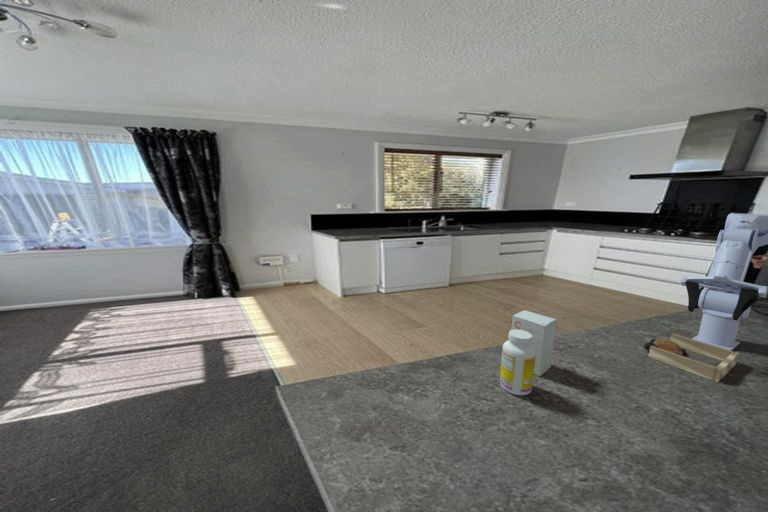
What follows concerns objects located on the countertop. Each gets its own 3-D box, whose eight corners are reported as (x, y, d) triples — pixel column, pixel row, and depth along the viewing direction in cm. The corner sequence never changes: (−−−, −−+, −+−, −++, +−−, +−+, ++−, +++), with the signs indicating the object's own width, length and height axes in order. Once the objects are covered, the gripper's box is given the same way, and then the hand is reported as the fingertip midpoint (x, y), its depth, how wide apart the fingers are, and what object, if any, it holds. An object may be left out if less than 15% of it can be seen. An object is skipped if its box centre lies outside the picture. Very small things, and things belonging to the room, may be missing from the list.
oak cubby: (670, 343, 89) (672, 333, 89) (736, 363, 78) (739, 353, 78) (648, 356, 81) (650, 346, 81) (718, 382, 70) (720, 370, 70)
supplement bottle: (531, 383, 69) (537, 330, 67) (532, 400, 63) (538, 343, 61) (500, 375, 72) (505, 325, 69) (498, 391, 66) (503, 337, 63)
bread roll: (647, 342, 91) (650, 330, 90) (686, 353, 85) (689, 340, 84) (640, 353, 84) (642, 341, 83) (682, 366, 78) (685, 352, 77)
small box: (551, 368, 75) (557, 319, 73) (539, 377, 71) (546, 325, 69) (519, 354, 81) (524, 309, 79) (507, 362, 77) (512, 315, 75)
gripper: (685, 256, 82) (669, 299, 79) (771, 263, 70) (756, 314, 67) (690, 270, 85) (674, 311, 82) (772, 279, 73) (758, 328, 70)
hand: (711, 314), depth 75 cm, fingers open, 7 cm apart
